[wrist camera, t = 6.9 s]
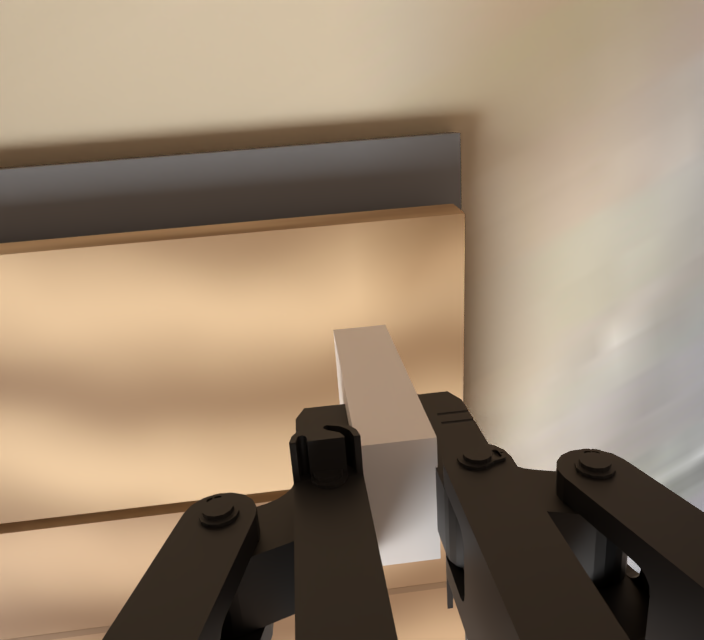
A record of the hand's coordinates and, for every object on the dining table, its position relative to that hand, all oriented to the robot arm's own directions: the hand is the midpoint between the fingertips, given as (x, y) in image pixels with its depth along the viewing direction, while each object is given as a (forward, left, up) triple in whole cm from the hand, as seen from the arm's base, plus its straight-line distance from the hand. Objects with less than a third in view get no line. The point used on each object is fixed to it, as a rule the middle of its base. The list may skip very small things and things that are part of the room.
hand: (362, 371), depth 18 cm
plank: (+1, -6, -5) cm, 8 cm away
